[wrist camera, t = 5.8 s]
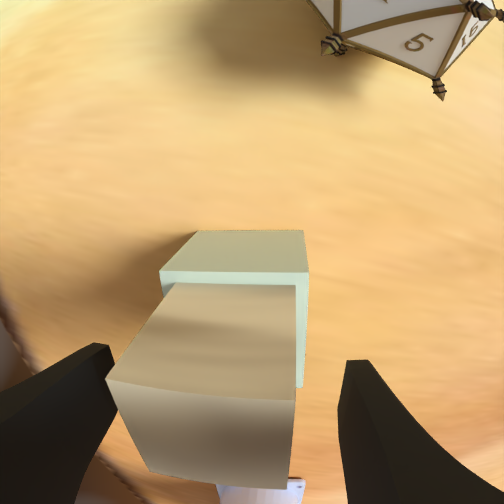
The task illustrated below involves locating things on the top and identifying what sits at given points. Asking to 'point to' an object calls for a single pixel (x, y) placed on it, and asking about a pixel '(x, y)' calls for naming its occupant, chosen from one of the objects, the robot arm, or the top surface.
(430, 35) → the game die
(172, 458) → the birch block
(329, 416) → the top surface
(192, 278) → the base block
